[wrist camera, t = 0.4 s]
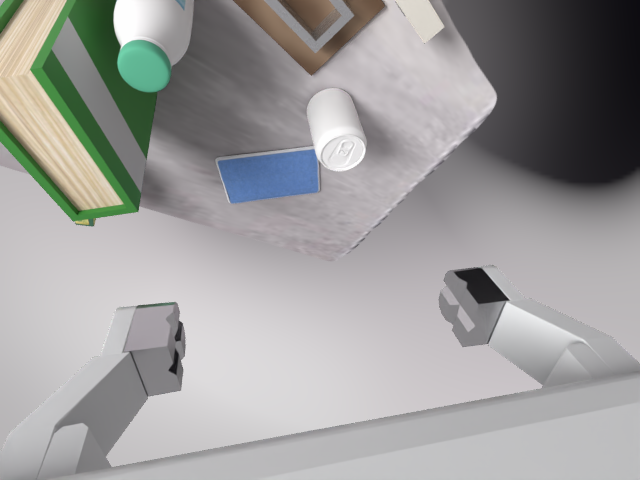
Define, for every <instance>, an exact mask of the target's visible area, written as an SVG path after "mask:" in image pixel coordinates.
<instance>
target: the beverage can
mask: <svg viewBox="0 0 640 480" xmlns="http://www.w3.org/2000/svg"><path fill="white" fill-rule="evenodd" d="M307 118H308V122H309V127H310V131H311V135H312V140H313V144H314V149H315V153H316V156H317V158H318V160H319V161H320V162H321V163H322V164H323V165H324V166H325V167H326V168H327V169H329V170H332V171H345V170H349V169H351V168H353V167H355V166H356V165H358V164H359V163H360V162H361V161H362V159H363V158H364V156H365V152H366V147H367V140H366V137H365V134H364V131H363V128H362V125H361V123H360V120H359V117H358V114H357V111H356V109H355V106H354V103H353V100H352V98H351V96H350V95H349V94H348V93H347V92H345V91H343V90H341V89H337V88H329V89H325V90H322V91H320V92H318V93H317V94H315V95H314V96H313V97H312V99H311V100H310V101H309V103H308V106H307Z"/></svg>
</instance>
